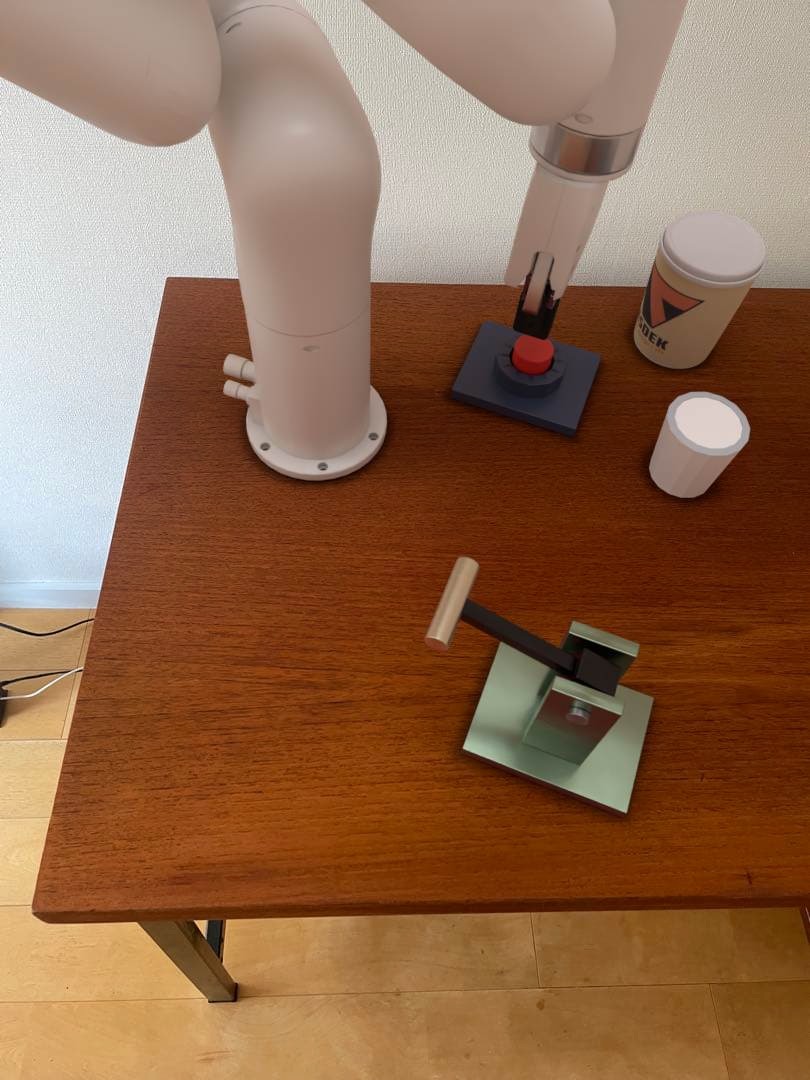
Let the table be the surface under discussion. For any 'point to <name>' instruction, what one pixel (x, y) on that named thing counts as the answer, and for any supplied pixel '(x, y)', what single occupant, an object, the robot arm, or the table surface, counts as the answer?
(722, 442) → the white cylinder
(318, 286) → the robot arm
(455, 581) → the lever
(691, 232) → the coffee cup
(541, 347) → the button
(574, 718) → the bracket
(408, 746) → the table surface
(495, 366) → the button block
